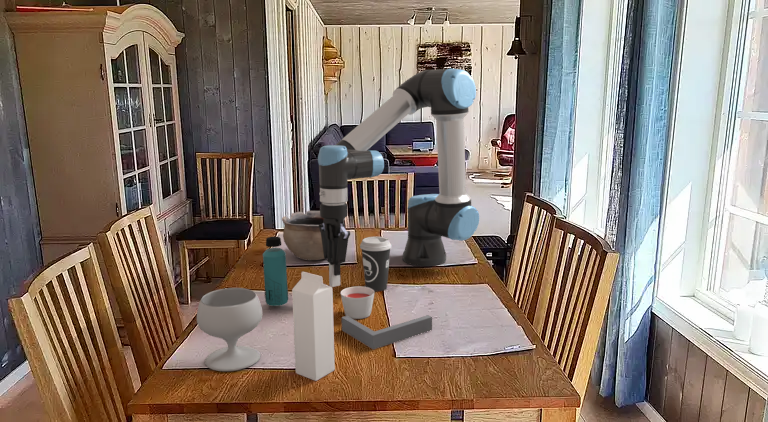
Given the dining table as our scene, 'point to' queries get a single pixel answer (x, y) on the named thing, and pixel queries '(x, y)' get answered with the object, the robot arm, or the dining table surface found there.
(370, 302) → the candle
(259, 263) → the dining table surface
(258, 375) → the dining table surface
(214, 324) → the chalice
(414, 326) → the corner fence
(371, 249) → the coffee cup
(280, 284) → the beverage bottle
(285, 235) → the ceramic bowl
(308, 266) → the dining table surface
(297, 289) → the milk
